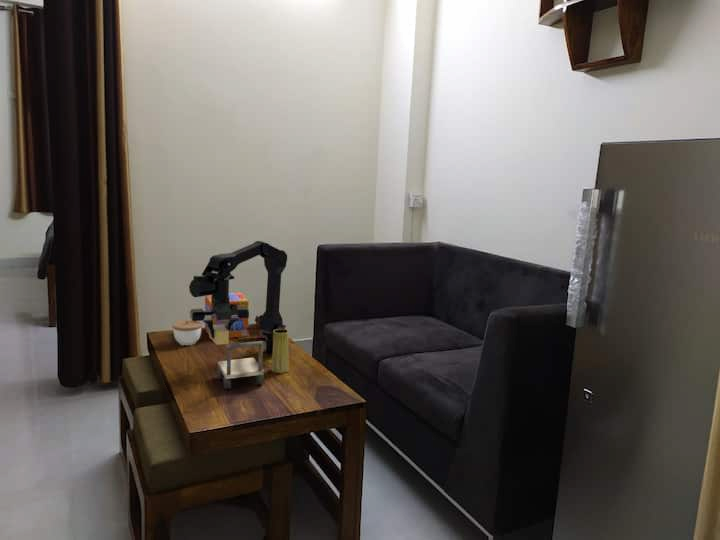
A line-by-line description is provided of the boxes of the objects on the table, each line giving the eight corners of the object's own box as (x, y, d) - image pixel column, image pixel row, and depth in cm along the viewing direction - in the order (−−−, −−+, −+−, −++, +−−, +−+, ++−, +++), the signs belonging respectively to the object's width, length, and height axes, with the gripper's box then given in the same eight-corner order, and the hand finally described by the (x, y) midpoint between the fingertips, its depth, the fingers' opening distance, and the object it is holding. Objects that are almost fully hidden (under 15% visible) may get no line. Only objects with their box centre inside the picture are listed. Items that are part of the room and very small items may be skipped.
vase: (292, 370, 187) (293, 331, 184) (278, 374, 182) (279, 334, 180) (281, 365, 191) (282, 327, 188) (267, 369, 187) (268, 330, 184)
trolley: (253, 372, 184) (253, 330, 181) (263, 386, 172) (264, 341, 170) (217, 376, 179) (217, 333, 176) (226, 391, 167) (226, 345, 164)
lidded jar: (181, 338, 217) (180, 315, 215) (206, 340, 215) (206, 317, 214) (168, 346, 206) (167, 322, 205) (194, 348, 205) (194, 325, 203)
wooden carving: (247, 341, 217) (247, 317, 215) (245, 337, 221) (245, 314, 219) (287, 338, 223) (287, 315, 221) (284, 335, 227) (285, 312, 225)
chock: (222, 337, 187) (222, 324, 186) (228, 343, 180) (228, 330, 179) (210, 338, 185) (210, 325, 184) (216, 344, 178) (216, 331, 177)
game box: (204, 329, 230) (204, 293, 227) (241, 326, 236) (241, 292, 233) (210, 340, 216) (209, 302, 213) (248, 336, 222) (248, 300, 219)
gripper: (195, 299, 168) (194, 347, 171) (253, 297, 177) (252, 342, 179) (189, 292, 178) (189, 337, 181) (245, 290, 186) (244, 333, 189)
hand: (219, 338), depth 182 cm, fingers closed on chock, 4 cm apart
